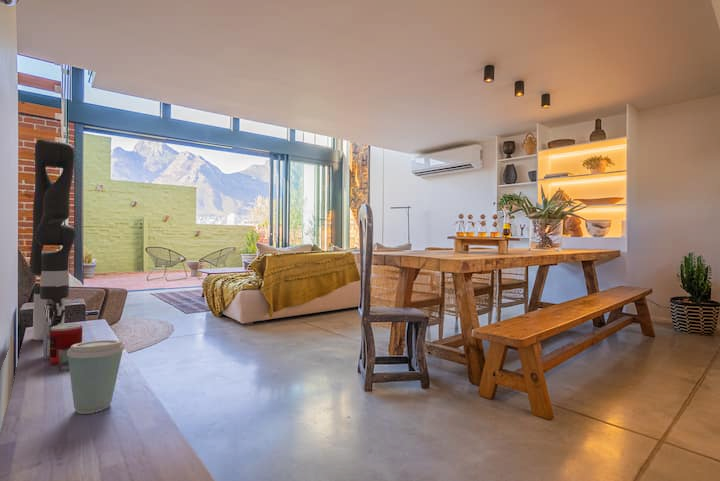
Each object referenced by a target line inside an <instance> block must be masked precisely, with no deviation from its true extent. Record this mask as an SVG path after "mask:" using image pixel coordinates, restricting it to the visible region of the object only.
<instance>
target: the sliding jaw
mask: <svg viewBox="0 0 720 481" xmlns="http://www.w3.org/2000/svg"><path fill="white" fill-rule="evenodd" d="M42 350H43V351H42V352H43V354H42V355H43V356H42V357H43V359H45V360H48V359H49V360H50V333H46V334H44V340H43V349H42Z"/></svg>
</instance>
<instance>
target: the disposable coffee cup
mask: <svg viewBox="0 0 720 481" xmlns="http://www.w3.org/2000/svg"><path fill="white" fill-rule="evenodd" d="M124 350H125V344H123V341H122V340H118V339H99V340H98V339H97V340H89V341H82V343H77V344H74V345H72V346H71V347H70V349H69V350H68V351H67V356H68V361H69V369H70V371H69V376H70V383H71V384H70V386H71V392H72V400H73V409H75V412H76V413H77V414H81V415H87V414H89V415H90V414H95V412H96V413H98V411H100V410H103V409H105V408H107V407H108V408H109V407H110V406H111V403H112V402H113V398H114V397H113V396H114V392H115V387H116V383H117V378H118V373H119V369H120V366H121V365H120V364H121V360H122V355H123V352H124ZM108 408H107V409H108ZM105 410H106V409H105ZM103 411H104V410H103ZM100 412H101V411H100Z"/></svg>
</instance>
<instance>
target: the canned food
mask: <svg viewBox="0 0 720 481" xmlns="http://www.w3.org/2000/svg"><path fill="white" fill-rule="evenodd" d="M82 342H83V324H82V323H77V322H76V323H64V324H62V325H56V326H53V327H51V329H50V358H49V363H50V365H53V366H59V349H63V348H69V347H71V346H72V345H74V344H77V343H82Z"/></svg>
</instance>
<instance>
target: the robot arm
mask: <svg viewBox="0 0 720 481" xmlns="http://www.w3.org/2000/svg"><path fill="white" fill-rule="evenodd" d="M75 152H76V151H75V148H74V145H72V144H71V143H66V142H62V141H56V140H55V141H54V140H50V139H42V138H41V139H38V140H37V141H36V142H35V146H34V195H33V204H32V207H33V208H32V239H31V248H30V256H29V271H30V274H31V276H32V275H33V276H37V277H38V276H40V278H39V284H38V285H35V286H34V288H33V310H32V311H33V313H32V314H33V315H32V316H33V318H32V340H34V341H44V334H46V333H50V329H51V327H53V326H56V325H62V324H65V310H66V309H65V307H66V306H65V305H66V304H65V303H66V299H67V298H69V297H70V296H69V295H70V274H69V266H70V265H69V262H70V260H69V259H70V254H71V250H72V248H73V246H74V242H75V240H76V236H77V231H76V229H75V228H74V227H73V226H72V225H69V224H67V225H66V224H63V223H64V222H65V221H66V220H67V219H69V217H70V196H71V195H70V194H71V188H72V182H73V176H74V171H75V168H74V167H75V162H76V161H75V159H76V157H75V155H76V153H75ZM47 167H50V168H51V167H52V168H59V169H62V171H61V174H60V175H59V177H58V178H57V179H56V180H55V181H54V182H52V180H51V178H50V176H49V175H48V172H47ZM45 246H47V247H48V246H49V247H50V246H56V247H57V246H59V247H60V246H62V247H61V249H60V250H57V251H56V250H55V251H54V250H53V251H50V250H49V251H47V250H46V251H45V250H43V249H44V247H45Z"/></svg>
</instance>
